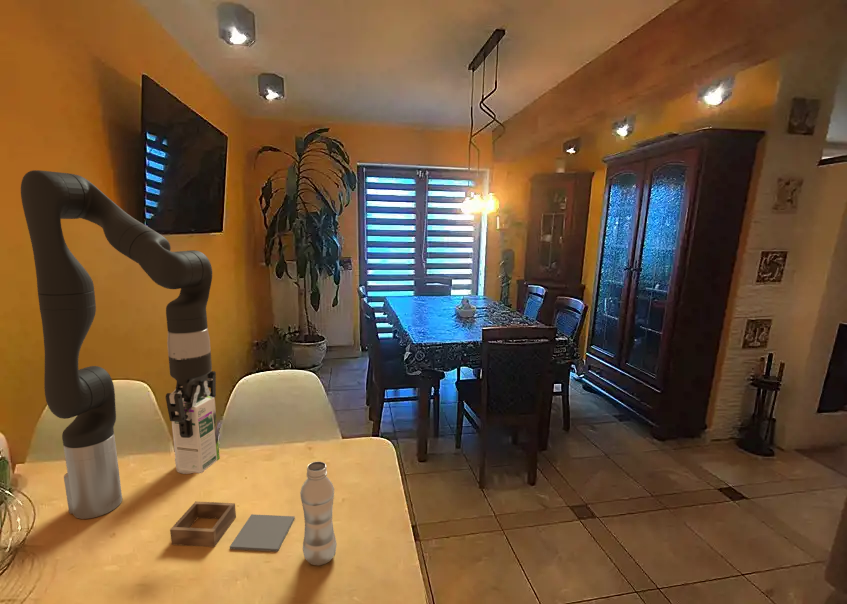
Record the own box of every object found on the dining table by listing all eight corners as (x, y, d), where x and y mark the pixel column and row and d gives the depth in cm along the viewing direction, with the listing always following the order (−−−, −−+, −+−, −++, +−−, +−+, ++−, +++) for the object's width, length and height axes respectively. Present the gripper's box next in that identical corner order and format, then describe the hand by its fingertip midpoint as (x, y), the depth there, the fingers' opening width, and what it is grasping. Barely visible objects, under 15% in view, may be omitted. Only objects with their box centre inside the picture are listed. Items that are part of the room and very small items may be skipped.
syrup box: (201, 474, 89) (196, 407, 86) (176, 470, 90) (170, 403, 87) (220, 459, 94) (215, 396, 91) (196, 456, 95) (191, 393, 93)
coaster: (229, 549, 89) (229, 546, 89) (251, 516, 99) (251, 514, 99) (277, 551, 89) (277, 549, 89) (294, 518, 99) (294, 516, 99)
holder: (171, 544, 90) (170, 529, 90) (196, 515, 99) (195, 501, 99) (214, 546, 90) (213, 531, 89) (236, 517, 99) (235, 503, 98)
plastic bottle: (320, 575, 83) (317, 480, 79) (295, 560, 87) (291, 468, 83) (343, 554, 88) (341, 464, 85) (319, 541, 92) (316, 453, 88)
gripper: (192, 340, 95) (198, 413, 98) (147, 361, 80) (155, 445, 84) (225, 342, 94) (230, 414, 97) (186, 363, 80) (193, 447, 83)
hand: (196, 428), depth 90 cm, fingers closed on syrup box, 6 cm apart
